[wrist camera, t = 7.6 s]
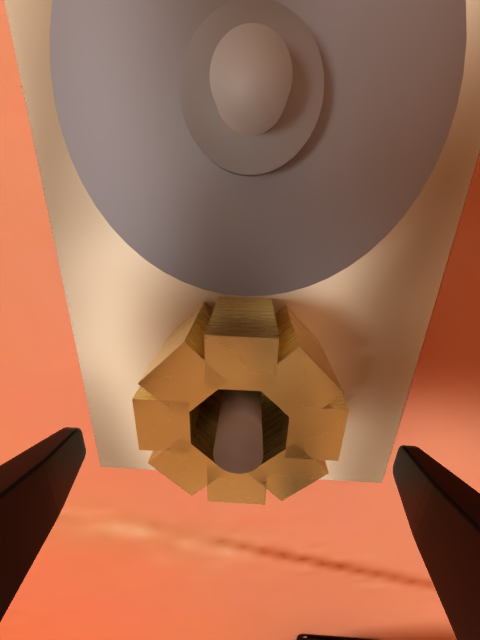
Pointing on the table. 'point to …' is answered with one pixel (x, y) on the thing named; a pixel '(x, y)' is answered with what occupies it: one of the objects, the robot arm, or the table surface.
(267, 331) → the brass gear
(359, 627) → the table surface
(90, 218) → the gear board
